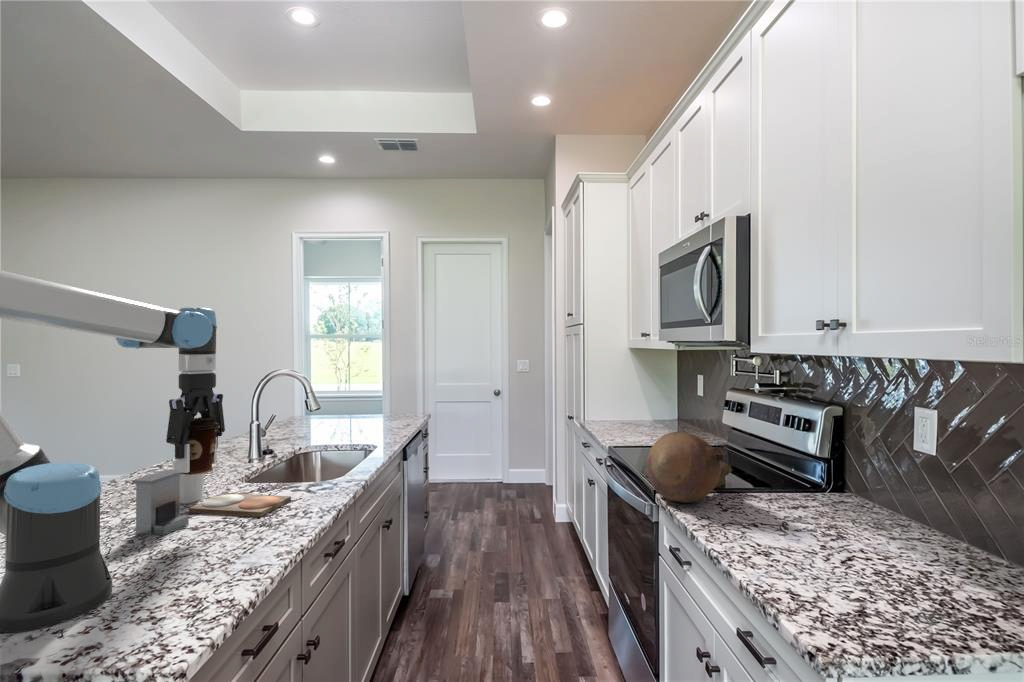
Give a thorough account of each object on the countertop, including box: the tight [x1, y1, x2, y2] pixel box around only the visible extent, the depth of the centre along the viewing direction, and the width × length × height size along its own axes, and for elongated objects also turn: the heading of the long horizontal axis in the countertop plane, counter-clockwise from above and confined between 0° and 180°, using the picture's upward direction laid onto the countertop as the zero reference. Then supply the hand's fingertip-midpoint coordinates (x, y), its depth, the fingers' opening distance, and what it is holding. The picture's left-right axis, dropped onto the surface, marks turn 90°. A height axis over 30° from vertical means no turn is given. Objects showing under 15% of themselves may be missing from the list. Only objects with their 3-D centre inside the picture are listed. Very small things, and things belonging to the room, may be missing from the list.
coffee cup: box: [180, 416, 219, 475], centre depth 114 cm, size 9×8×13 cm
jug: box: [643, 431, 733, 504], centre depth 139 cm, size 20×20×30 cm
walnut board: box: [187, 492, 292, 518], centre depth 131 cm, size 13×21×2 cm, turn 81°
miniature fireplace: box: [132, 469, 190, 536], centre depth 116 cm, size 9×8×13 cm
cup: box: [172, 457, 205, 504], centre depth 137 cm, size 8×8×12 cm
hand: (197, 467), depth 114 cm, fingers closed on coffee cup, 8 cm apart
